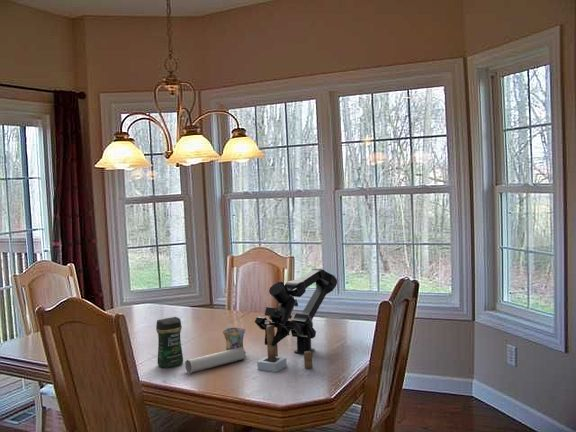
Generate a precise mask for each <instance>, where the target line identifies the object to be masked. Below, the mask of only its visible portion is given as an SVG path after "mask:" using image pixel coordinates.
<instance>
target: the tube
mask: <svg viewBox="0 0 576 432" xmlns="http://www.w3.org/2000/svg"><path fill="white" fill-rule="evenodd" d="M243 348H244V347H243ZM243 348H240V347H239V348H235V349H231V350H227V351H226V350H224V351H219V352H216V353H214V352H213V353H211V354H206V355H202V356H199V357H194V358H191V359H188V358H187V359H186V360H185V361H184V362H185V363H184V367H185V370H186V372H187V373H188V374H189V375H190V374H192V373H195V372H199V371H200V372H201V371H203V370H207V369H210V368H215V367H219V366H222V365H227V364H230V363H234V362H239V361H241V360H244V359H245V357H246V353H247V352H246V350H245V349H243ZM238 360H239V361H238Z"/></svg>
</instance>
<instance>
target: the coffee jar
mask: <svg viewBox="0 0 576 432" xmlns="http://www.w3.org/2000/svg"><path fill="white" fill-rule="evenodd" d="M182 329H183V328H182V321H181V319H180V317H177V316H172V317H167V318H166V317H165V318H162V319H157V320H156V333H157V337H158V345H157V346H158V348H157V365H158V366H159V367H160V368H165V369H166V368H172V367H176V366H180V365H182V364H183V363H184V356H183V355H184V354H183V350H182V348H183V347H182V342H181V341H182V339H181V332H182Z"/></svg>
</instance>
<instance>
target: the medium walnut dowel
mask: <svg viewBox="0 0 576 432" xmlns="http://www.w3.org/2000/svg"><path fill="white" fill-rule="evenodd" d="M278 347H279V346H278V343H277V344H276V345H275V351H276V356H277V357H279V352H278V351H279V349H278Z"/></svg>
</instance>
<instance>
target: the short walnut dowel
mask: <svg viewBox="0 0 576 432" xmlns="http://www.w3.org/2000/svg"><path fill="white" fill-rule="evenodd" d="M303 359H304V361H303V363H304V369H305V370H312V369H313V351H312V352H311V351H305V352H304V354H303Z"/></svg>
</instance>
